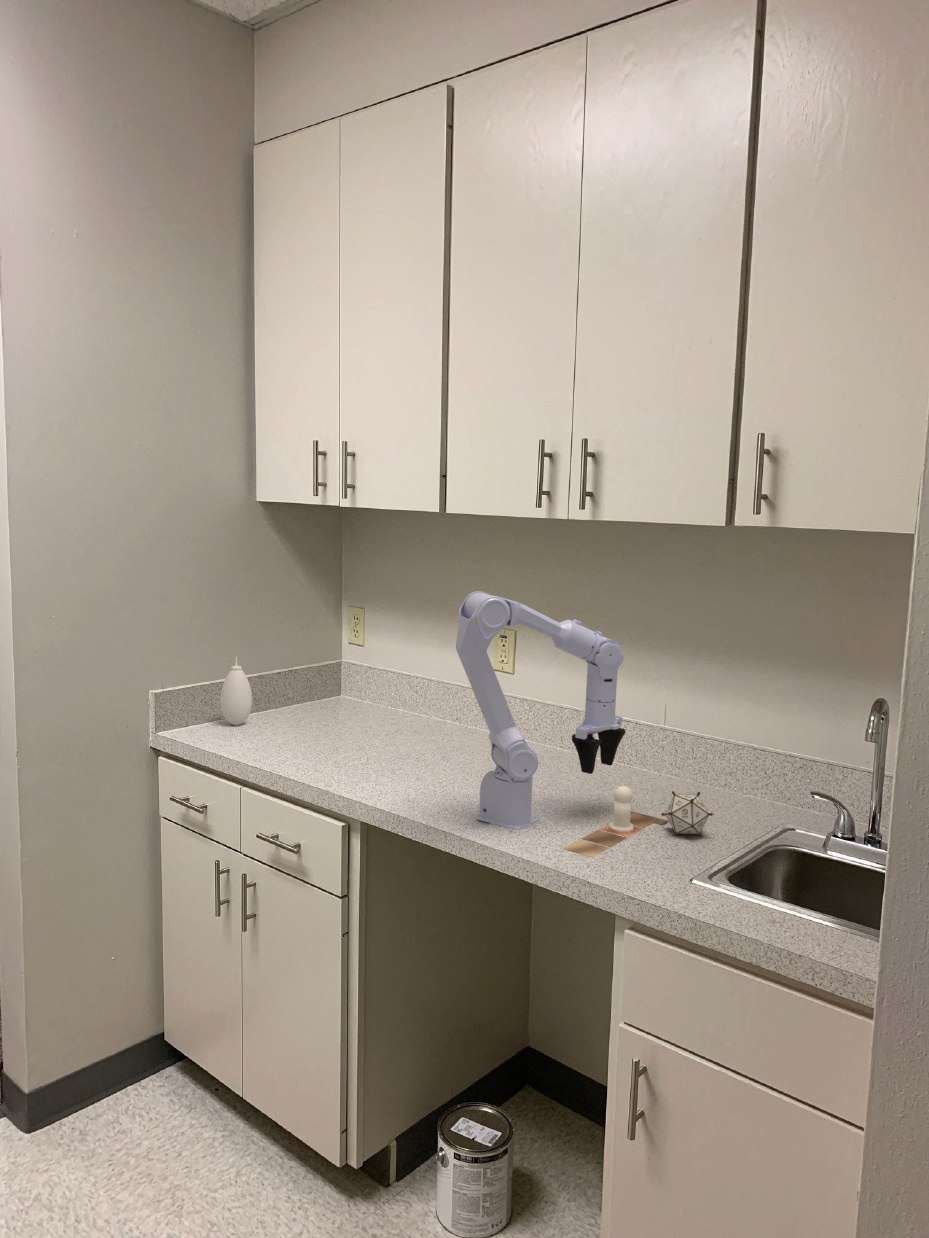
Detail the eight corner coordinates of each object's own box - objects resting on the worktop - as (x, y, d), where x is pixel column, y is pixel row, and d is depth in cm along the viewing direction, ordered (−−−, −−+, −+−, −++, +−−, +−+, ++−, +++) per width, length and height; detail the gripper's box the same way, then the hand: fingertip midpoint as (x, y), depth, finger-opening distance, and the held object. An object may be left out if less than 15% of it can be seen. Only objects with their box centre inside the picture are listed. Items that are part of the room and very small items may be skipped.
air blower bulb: (240, 729, 240) (240, 659, 237) (214, 726, 242) (214, 657, 240) (257, 723, 247) (257, 655, 244) (232, 719, 250) (232, 652, 247)
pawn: (604, 829, 174) (607, 786, 173) (616, 823, 178) (618, 781, 177) (626, 835, 172) (628, 791, 171) (637, 828, 175) (640, 786, 174)
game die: (688, 851, 176) (714, 805, 178) (701, 851, 168) (728, 803, 170) (647, 824, 177) (673, 779, 179) (658, 823, 169) (685, 776, 171)
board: (551, 850, 164) (551, 847, 164) (626, 811, 186) (626, 809, 186) (597, 863, 159) (597, 861, 159) (668, 822, 181) (668, 820, 181)
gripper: (600, 708, 172) (596, 780, 174) (637, 696, 184) (633, 764, 185) (567, 702, 176) (564, 773, 178) (605, 691, 188) (601, 757, 190)
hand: (597, 768), depth 182 cm, fingers open, 7 cm apart
